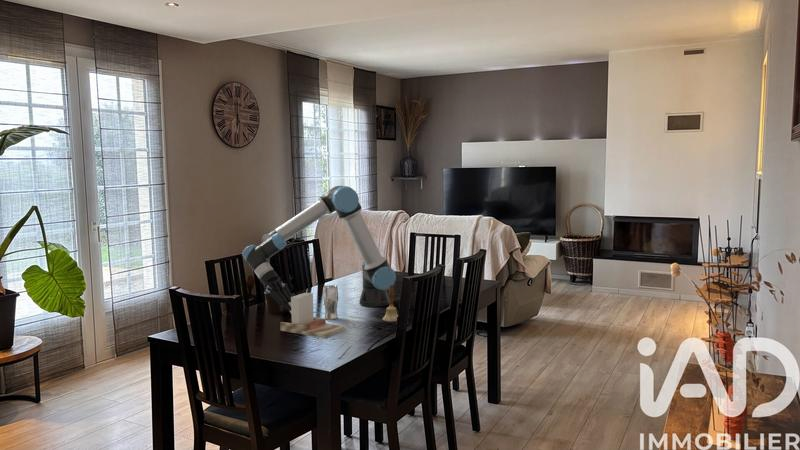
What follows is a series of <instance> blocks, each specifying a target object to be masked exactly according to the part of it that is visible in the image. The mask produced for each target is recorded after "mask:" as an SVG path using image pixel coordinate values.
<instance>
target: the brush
mask: <svg viewBox="0 0 800 450" xmlns="http://www.w3.org/2000/svg"><path fill="white" fill-rule="evenodd" d="M388 297H389V306H388V307H386V310H385V315H384V316H383V317H382V319H381V320H382V321H384V322H388V323H389V322H390V323H391V322H392V323H393V322H394V323H395V322H398V321H397V317H398V316H399V314H398V311H397V307H395V306H394V297H395V288H394V285H390V288H389V289H388Z"/></svg>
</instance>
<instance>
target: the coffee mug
mask: <svg viewBox="0 0 800 450" xmlns="http://www.w3.org/2000/svg"><path fill="white" fill-rule="evenodd" d="M264 299H265V305H266V312H267V313H268V314H270V315H275V314H279V313H281V312H282V306H280V305H279V304H278V303H277V302H276V301H275V300H274V299H273V298H272V297H271V296H270V295H269V294H267V293H266V292H265V291H264Z"/></svg>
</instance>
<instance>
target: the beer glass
mask: <svg viewBox="0 0 800 450" xmlns="http://www.w3.org/2000/svg"><path fill="white" fill-rule="evenodd" d="M322 299H323V304H324V305H323V306H324V311H325V312H324V313H325V314H324V319H326V320H327V321H335V320H338V318H339V317H338V302H339V290H338V285H332V284H331V285H324V286H323V288H322Z"/></svg>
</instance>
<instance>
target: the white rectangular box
mask: <svg viewBox="0 0 800 450" xmlns="http://www.w3.org/2000/svg"><path fill="white" fill-rule="evenodd" d="M292 296H293V295H292ZM290 315H291V323H292V324H299V325H304V324H307V323H309V322H312V321H314V317H315V315H314V294H313V292H304V293H303V292H302V293H299V294H297V295H294V296H293V297H291V313H290Z"/></svg>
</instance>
